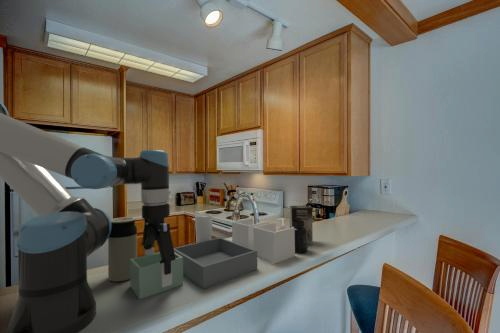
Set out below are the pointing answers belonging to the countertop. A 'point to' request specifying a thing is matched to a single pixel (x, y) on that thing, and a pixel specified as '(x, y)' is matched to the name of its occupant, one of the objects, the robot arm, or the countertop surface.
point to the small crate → (153, 274)
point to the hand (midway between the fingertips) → (157, 277)
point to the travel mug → (121, 248)
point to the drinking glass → (203, 227)
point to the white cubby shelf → (265, 239)
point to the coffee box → (306, 216)
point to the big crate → (216, 261)
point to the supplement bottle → (300, 236)
